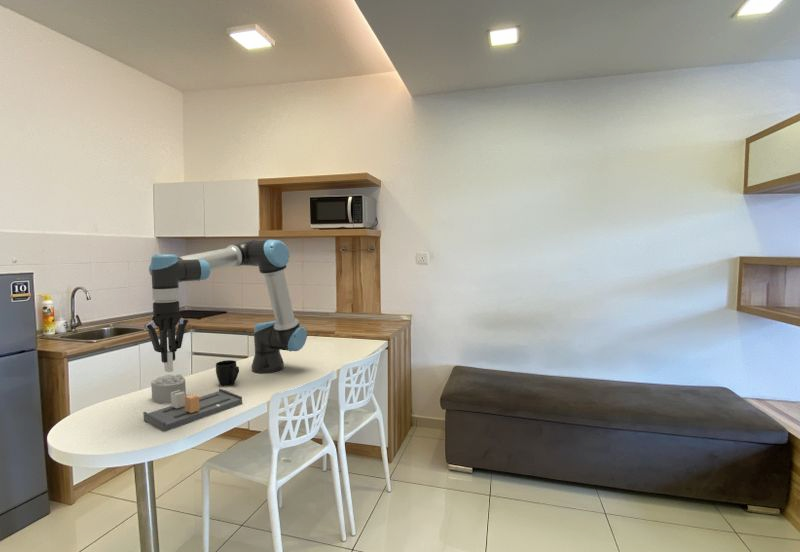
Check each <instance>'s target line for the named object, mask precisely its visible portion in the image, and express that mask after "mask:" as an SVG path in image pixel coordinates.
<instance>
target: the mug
mask: <svg viewBox="0 0 800 552" xmlns="http://www.w3.org/2000/svg"><path fill="white" fill-rule="evenodd" d="M239 372H240V367H239V366H237V360H233V359H231V360H229V359H228V360H227V359H226V360H221V361H218V362H216V363H215V373H216V374H215V375H216V377H217V381H218V384H219V385H220V387H228V386H232V385H234V384H235V382H236V380H237V378H238V376H239Z"/></svg>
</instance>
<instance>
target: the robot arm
mask: <svg viewBox="0 0 800 552" xmlns="http://www.w3.org/2000/svg"><path fill="white" fill-rule="evenodd" d="M289 259H290V251H289V248H288V246H287V245H286V244H285V243H284V242H283V241H282V240H279V239H251V240H247V241H243V242H239V243H234V244H230V245H229V244H228V246H227V247H225V248H219V249H216V250H209V251H204V252H199V253H193V254H187V255H183V256H178V254H177V255H176V253H175V254H172V253H171V254H170V253H169V254H165V253H164V254H153V255H152V256H151V259H150V260H151V261H150V264H149V267H148V272H149V275H150V276H151V285H152V289H151V291H152V292H151V293H152V295H151V296H152V301H154V302H153V303H152V313H153V316H152V318H151V321H150V322H148V323H146V324H144V328H145V329H146V330H147V332H148V336H149V338H150V341H151V344H152V347H153V350H154V352H157V353H160V356H161V357H160V358H161V363H163V364H164V372H166V373H171V372H174V361H176V352H177V351H178V349H181V348H182V344H183V338H184V335H185V329H186V326H187V325H188V322H189V320H188V319H185V318H183V317H182V316H181V314H180V301H179V300H180V292H179V289H180V288H179V287H180V286H179V284H180V283H181V282H196V281H197V282H200V281H204V280H206V279H208V278H209V277H210V275H211V271H212V270H216V269H220V268H226V267H229V266H232V267H239V266H240V267H241V266H249V267H251V266H252V267H258V271H259V273H260V274H261V275H263V276H264V280H265V284H266V286H267V291H268V295H269V299H270V305H271V307H272V312H273V315H274V319H275V320H272V321H271V320H270V321H266V322H259V323H257V324H255V325H254V327H253V328H254V329H253V331H254V332H253V339H254V340H253V341H254V342H253V343H254V356H253V359H252V364H251V372H252V373H256V374H270V373H275V372H278V371H281V370H283V369H284V368H285V363H284V358H283V357H282V355H281V351H289V352H298V351H300V350H302V349H303V347H304V346H305V344H306V342H307V338H308V332H307V329H306V328H305V327H303V326H301V325H300V322H299V321H300V320H299V319H297V318H295V315H294V310H293V305H292V301H291V297H290V292H289V288H288V283H287V279H286V276H285V275H286V274H285V270H286V269H287V265H288V263H289V261H290V260H289ZM177 325H178V326H177ZM176 326H177V327H176ZM156 327H157V329H158V332H159V337H158V334H157V332H156V329H155V328H156ZM176 328H177V329H176Z"/></svg>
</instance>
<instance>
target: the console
mask: <svg viewBox="0 0 800 552" xmlns="http://www.w3.org/2000/svg"><path fill="white" fill-rule="evenodd" d="M242 404H243V397H242V396H240V395H238V394H235V393H234V392H231V391H228V390H225V389H223V388H218V391H214V392H211V393H208V394H206V395H201V396H199V411H196V412H193V413H190V412H188V411H185V406H183V407H180V408H174V407H172V406H171V405H170V406H167V407H163V408H161V409H157V410H154V411H151V412H146V411H143V412H142V413H143V415H142V416H143V421H144V422H145V423H148V424H150V425H152V426H153V427H155V428H156V429H159V430H161V431H162V432H163V433H164V432H167V431H170V430H173V429H175V428H178V427H181V426H183V425H187V424H191V423H192V422H195V421H198V420H200V419H203V418H207V417H208V416H212V415H214V414H218V413H220V412H223V411H225V410H229V409H231V408H234V407H237V406H241V405H242Z"/></svg>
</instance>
